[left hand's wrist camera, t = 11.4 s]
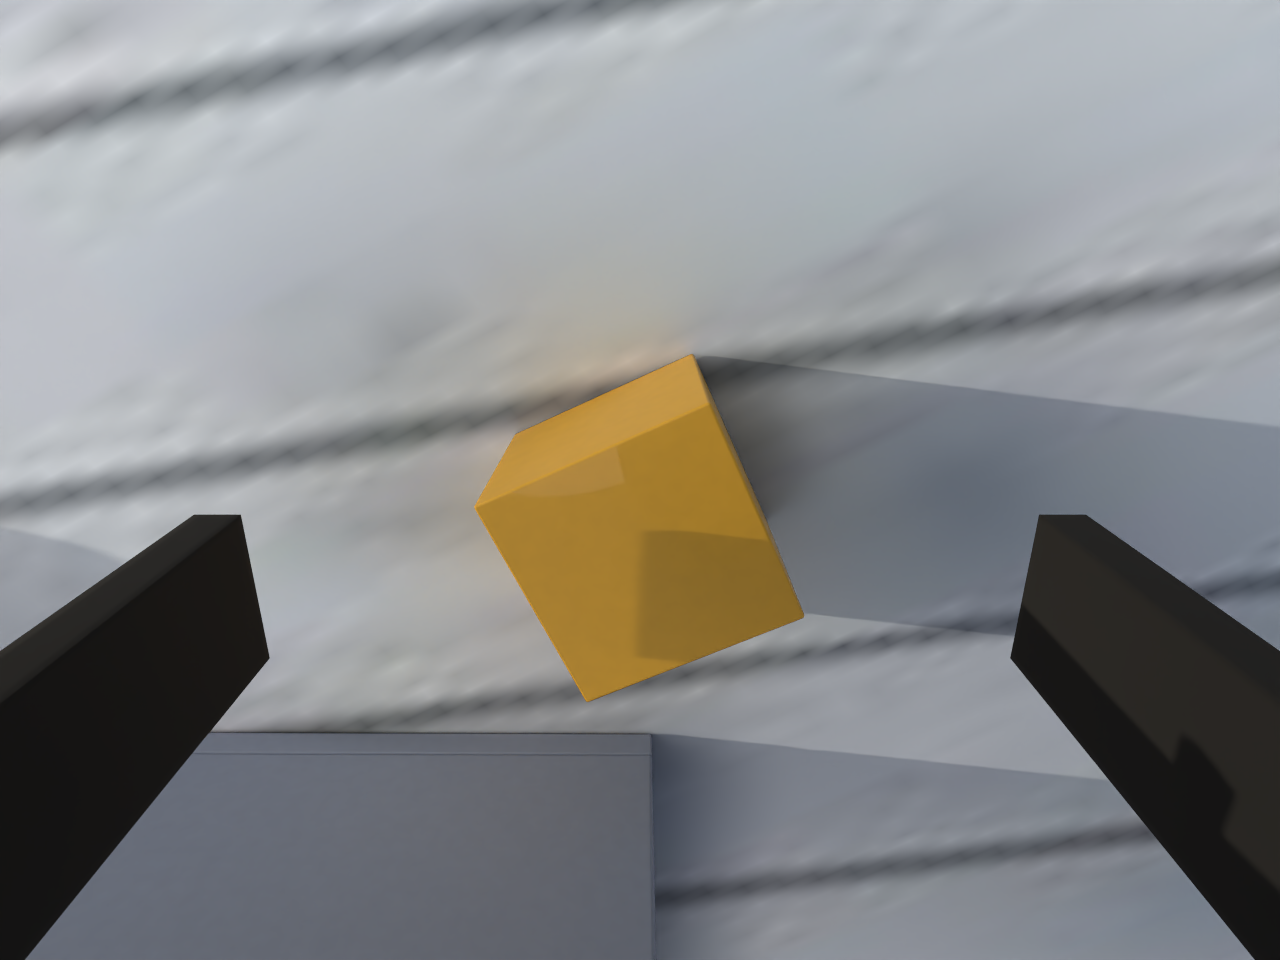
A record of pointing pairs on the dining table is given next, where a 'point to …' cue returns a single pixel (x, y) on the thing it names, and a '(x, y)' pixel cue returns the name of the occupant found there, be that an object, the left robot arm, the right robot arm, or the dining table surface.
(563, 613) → the block
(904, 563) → the dining table surface
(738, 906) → the dining table surface
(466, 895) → the chest
